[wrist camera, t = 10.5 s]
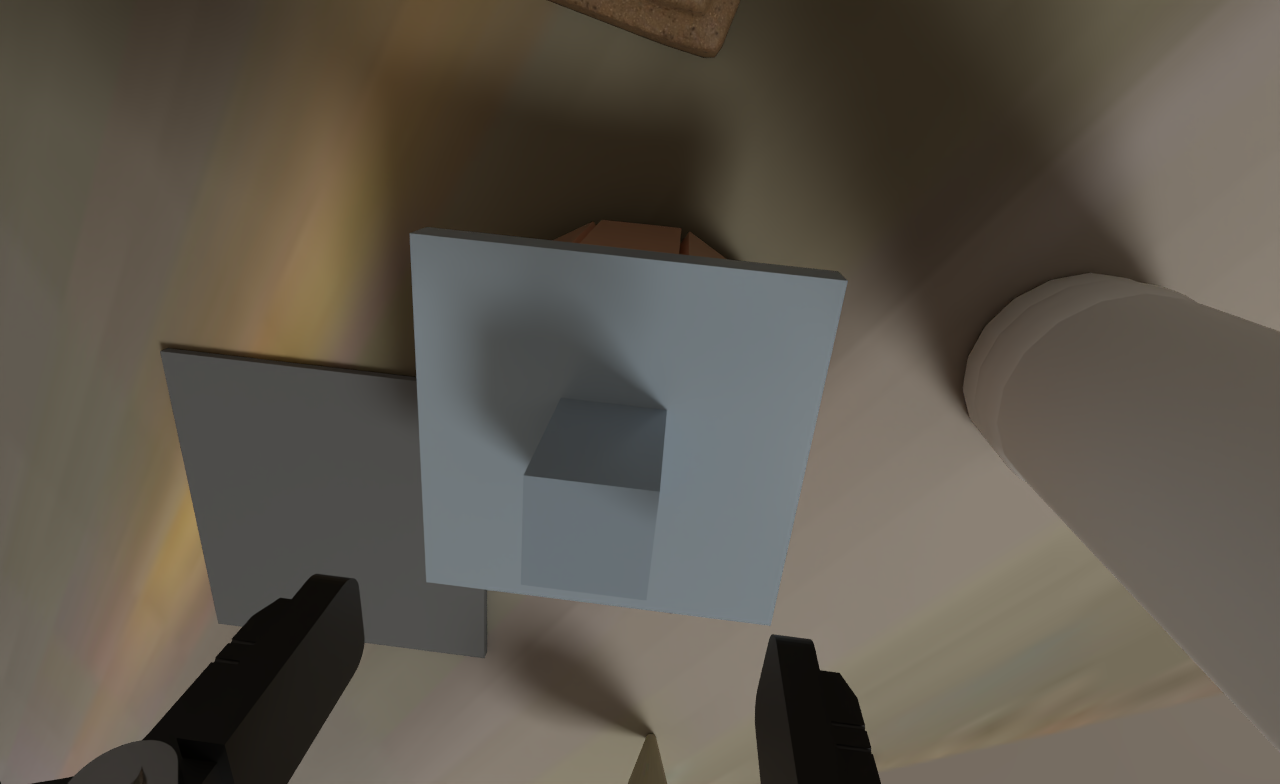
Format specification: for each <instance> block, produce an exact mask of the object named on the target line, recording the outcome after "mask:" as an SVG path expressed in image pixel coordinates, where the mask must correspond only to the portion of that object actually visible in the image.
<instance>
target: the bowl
mask: <svg viewBox="0 0 1280 784" xmlns="http://www.w3.org/2000/svg"><path fill="white" fill-rule="evenodd" d="M681 229H682V228H675V227H666V226H657V225H647V224H638V223H628V222H619V221H610V220H601V221H600V222H599V223H598V224H597V225H595V223H594V221H593V222H590V223H588V224H586V225H584V226H582V227H580V228H578V229H576V230H573V231H571V232H569V233H567V234H565V235H563V236H561V237H559V238H556V239H554V240H552V241H562V242H571V243H580V244H589V245H599V246H608V247H617V248H626V249H636V250H645V251H654V252H663V253H673V254H682V255H691V256H700V257H710V258H719V259H726V258H724V257H723V256H722V255H720V254H719V253H718V252H716V251H715V250H714V249H712V248H711V247H710V246H708V245H707V244H706V243H704V242H703V241H702V240H700V239H699V238H698V237H696V236H695V235H694V234H692V233H691V232H690V231H689V233H688V234H687V235H686V237H685V238H684V239H683V241H682V242H681V243H680V239H681Z"/></svg>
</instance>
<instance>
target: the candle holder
mask: <svg viewBox="0 0 1280 784" xmlns="http://www.w3.org/2000/svg"><path fill="white" fill-rule="evenodd" d="M548 1H551V2H553V3H556V4H559V5H561V6H564V7H567V8H569V9H572V10H574V11H577V12H580V13H582V14H585V15H587V16H590V17H593V18H595V19H598V20H600V21H603V22H606V23H608V24H611V25H613V26H616V27H619V28H621V29H624V30H626V31H629V32H632V33H634V34H637V35H639V36H642V37H645V38H647V39H650V40H652V41H655V42H658V43H660V44H663V45H666V46H669V47H672V48H675V49H678V50H681V51H684V52H688V53H691V54H694V55H697V56H700V57H703V58H709V57H715V56H716V55H717V53H718V52H719V51H720V49H721V48H722V46H723V43H724V41H725V38H726V36H727V33H728V30H729V28H730V25H731V23H732V20H733V18H734V15H735V13H736V10H737V8H738V5H739V3H740V0H548Z"/></svg>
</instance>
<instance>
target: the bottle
mask: <svg viewBox="0 0 1280 784" xmlns="http://www.w3.org/2000/svg"><path fill="white" fill-rule="evenodd" d="M963 393H964V397H965V401H966V405H967V410H968V414H969V418H970V419H971V421H972V422H973V423H974V424H975V426H976V427H977V428H978V429H979V431H980V432H981V434H982V435H983V436H984V438H985V439H986V440H987V441H988V443H989V444H990V445H991V447H992V448H993V449H994V450H995V452H996V453H997V454H998V455H999V457H1000V458H1001V459H1002V460H1003V462H1004V463H1005V464H1006V465H1007V466H1008V468H1009V469H1010V470H1011V471H1012V472H1013V473H1014V474H1015V475H1016V476H1018V477H1019V478H1020V479H1021V480H1023V481H1025V482H1027V483H1028V484H1029V486H1030V487H1031V488H1032V489H1033V490H1034V491H1035V492H1036V493H1037V494H1038V495H1039V496H1040V497H1041V498H1042V499H1043V501H1044V502H1045V503H1046V504H1047V505H1048V506H1049V507H1050V508H1051V509H1052V510H1053V511H1054V512H1055V513H1056V514H1057V515H1058V517H1059V518H1060V519H1061V520H1062V521H1063V522H1064V523H1065V524H1066V525H1067V526H1068V527H1069V528H1070V529H1071V530H1072V531H1073V533H1074V534H1075V535H1076V536H1077V537H1078V538H1079V539H1080V540H1081V541H1082V542H1083V543H1084V544H1085V545H1086V546H1087V547H1088V549H1089V550H1090V551H1091V552H1092V553H1093V554H1094V555H1095V556H1096V557H1097V558H1098V559H1099V560H1100V561H1101V562H1102V564H1103V565H1104V566H1105V567H1106V568H1107V569H1108V570H1109V571H1110V572H1111V573H1112V574H1113V575H1114V576H1115V577H1116V578H1117V580H1118V581H1119V582H1120V583H1121V584H1122V585H1123V586H1124V587H1125V588H1126V589H1127V590H1128V591H1129V592H1130V593H1131V594H1132V596H1133V597H1134V598H1135V599H1136V600H1137V601H1138V602H1139V603H1140V604H1141V605H1142V606H1143V607H1144V608H1145V609H1146V611H1147V612H1148V613H1149V614H1150V615H1151V616H1152V617H1153V618H1154V619H1155V620H1156V621H1157V622H1158V623H1159V624H1160V625H1161V627H1162V628H1163V629H1164V630H1165V631H1166V632H1167V633H1168V634H1169V635H1170V636H1171V637H1172V638H1173V639H1174V640H1175V641H1176V643H1177V644H1178V645H1179V646H1180V647H1181V648H1182V649H1183V650H1184V651H1185V652H1186V653H1187V654H1188V655H1189V656H1190V658H1191V659H1192V660H1193V661H1194V662H1195V663H1196V664H1197V665H1198V666H1199V667H1200V668H1201V669H1202V670H1203V671H1204V672H1205V674H1206V675H1207V676H1208V677H1209V678H1210V679H1211V680H1212V681H1213V682H1214V683H1215V684H1216V685H1217V686H1218V687H1219V688H1220V690H1221V691H1222V692H1223V693H1224V694H1225V695H1226V696H1227V697H1228V698H1229V699H1230V700H1231V701H1232V702H1233V703H1234V704H1235V706H1236V707H1237V708H1238V709H1239V710H1240V711H1241V712H1242V713H1243V714H1244V715H1245V716H1246V717H1247V718H1248V719H1249V720H1250V721H1251V723H1252V724H1253V725H1254V726H1255V727H1256V728H1257V729H1258V730H1259V731H1260V732H1261V733H1262V734H1263V735H1264V737H1265V738H1266V739H1267V740H1268V741H1269V742H1270V743H1271V744H1272V745H1273V746H1274V747H1275V748H1276V749H1277V750H1278V751H1279V753H1280V332H1279V331H1276V330H1274V329H1271V328H1268V327H1265V326H1262V325H1259V324H1257V323H1254V322H1251V321H1248V320H1245V319H1242V318H1239V317H1237V316H1234V315H1231V314H1228V313H1225V312H1222V311H1220V310H1217V309H1214V308H1211V307H1208V306H1205V305H1202V304H1200V303H1197V302H1196V301H1194V300H1192V299H1191V298H1189V297H1187V296H1185V295H1183V294H1181V293H1178V292H1176V291H1173V290H1171V289H1168V288H1165V287H1161V286H1157V285H1153V284H1147V283H1140V282H1137V281H1134V280H1131V279H1129V278H1123V277H1116V276H1110V275H1103V274H1096V273H1086V274H1081V275H1075V276H1070V277H1064V278H1059V279H1054V280H1050V281H1048V282H1046V283H1044V284H1042V285H1040V286H1038V287H1036V288H1034V289H1032V290H1030V291H1028V292H1026V293H1024V294H1022V295H1020V296H1019V297H1017V298H1015V299H1013V300H1012V301H1011V302H1010V303H1009V304H1008V305H1007V306H1006V307H1005V308H1004V309H1003V310H1002V311H1001V312H1000V313H999V314H997V315H996V316H995V317H994V318H993V319H992V320H991V321H990V322H989V323H988V324H987V325H986V326H985V328H984V329H983V331H982V333H981V335H980V336H979V338H978V340H977V342H976V344H975V345H974V347H973V349H972V351H971V352H970V354H969V356H968V359H967V365H966V371H965V377H964V383H963Z"/></svg>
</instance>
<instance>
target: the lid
mask: <svg viewBox="0 0 1280 784" xmlns="http://www.w3.org/2000/svg"><path fill="white" fill-rule="evenodd" d="M410 253H411V273H412V294H413V315H414V336H415V357H416V378H417V398H418V419H419V440H420V461H421V482H422V503H423V523H424V544H425V565H426V582H430V583H438V584H445V585H453V586H461V587H469V588H477V589H485V590H493V591H501V592H509V593H516V594H524V595H532V596H540V597H548V598H556V599H564V600H572V601H580V602H587V603H595V604H603V605H611V606H619V607H627V608H635V609H643V610H650V611H658V612H666V613H674V614H682V615H690V616H698V617H706V618H714V619H721V620H729V621H737V622H745V623H753V624H761V625H769V626H771V621H772V617H773V612H774V608H775V603H776V599H777V594H778V590H779V585H780V581H781V577H782V572H783V568H784V563H785V559H786V554H787V550H788V545H789V541H790V536H791V532H792V527H793V523H794V518H795V514H796V510H797V505H798V501H799V496H800V492H801V487H802V483H803V478H804V474H805V469H806V465H807V460H808V456H809V452H810V447H811V443H812V438H813V434H814V429H815V425H816V420H817V416H818V411H819V407H820V402H821V398H822V393H823V389H824V385H825V380H826V376H827V371H828V367H829V362H830V358H831V353H832V349H833V344H834V340H835V335H836V331H837V327H838V322H839V318H840V313H841V309H842V304H843V300H844V295H845V291H846V286H847V282H848V281H847V280H846V279H845V278H844V277H843V276H842V275H841V274H840V273H839V272H838V271H830V270H821V269H811V268H802V267H793V266H784V265H774V264H765V263H756V262H747V261H737V260H728V259H719V258H710V257H700V256H691V255H682V254H673V253H663V252H654V251H645V250H636V249H626V248H617V247H608V246H599V245H589V244H580V243H571V242H562V241H552V240H543V239H534V238H525V237H516V236H506V235H497V234H488V233H479V232H469V231H460V230H451V229H442V228H432V227H425V228H422V229H419V230H417V231H414V232H412V233H410Z"/></svg>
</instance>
